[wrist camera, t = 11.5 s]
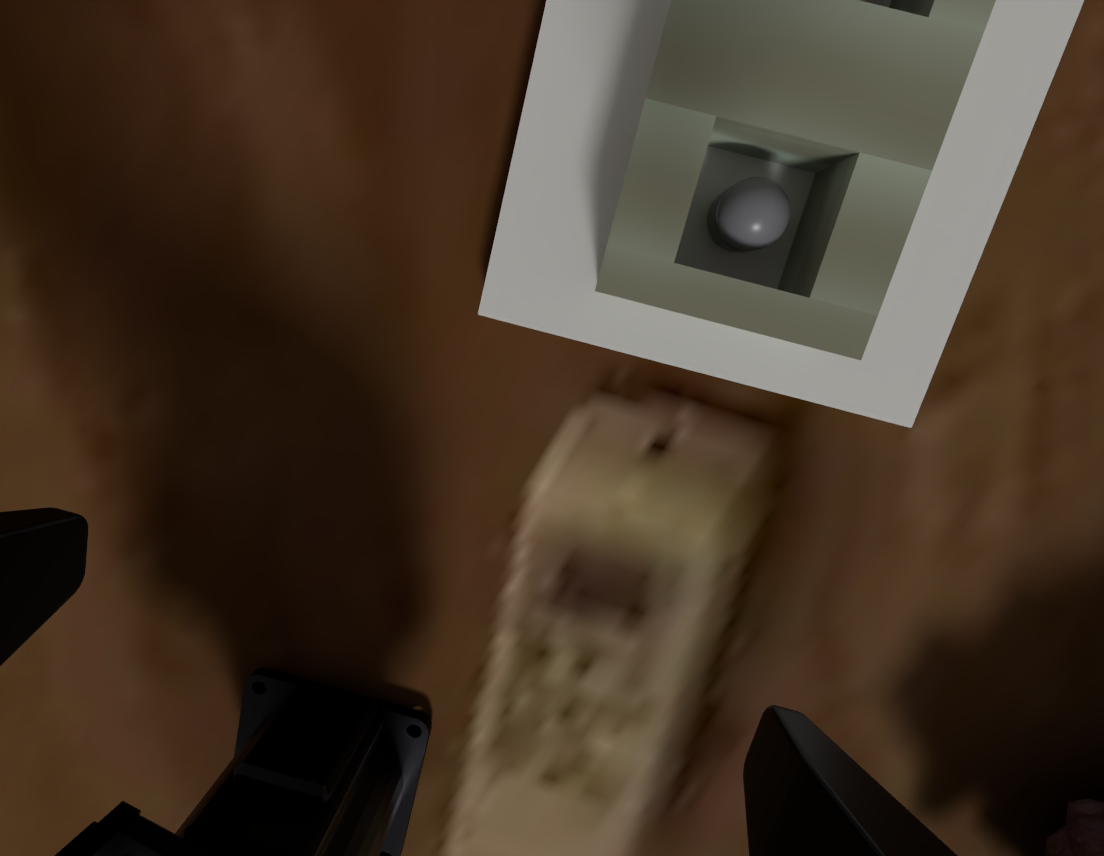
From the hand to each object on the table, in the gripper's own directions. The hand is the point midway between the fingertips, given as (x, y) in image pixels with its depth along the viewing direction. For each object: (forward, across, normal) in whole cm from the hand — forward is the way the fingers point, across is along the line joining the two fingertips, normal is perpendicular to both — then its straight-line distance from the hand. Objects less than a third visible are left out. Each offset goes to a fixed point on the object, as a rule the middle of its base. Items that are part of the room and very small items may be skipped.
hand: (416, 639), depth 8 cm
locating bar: (+10, -4, -10) cm, 15 cm away
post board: (+12, -4, -10) cm, 16 cm away
